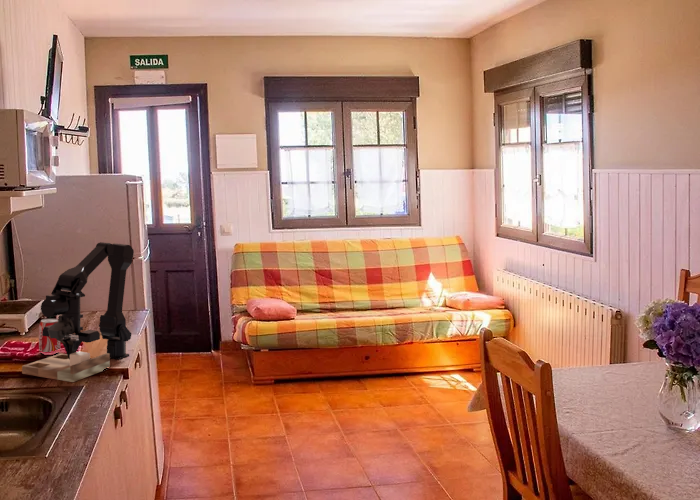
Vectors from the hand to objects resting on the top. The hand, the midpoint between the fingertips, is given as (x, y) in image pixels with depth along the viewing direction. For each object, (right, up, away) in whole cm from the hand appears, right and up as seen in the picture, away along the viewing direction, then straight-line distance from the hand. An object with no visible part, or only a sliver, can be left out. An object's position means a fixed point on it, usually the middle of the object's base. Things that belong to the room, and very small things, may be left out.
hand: (70, 359), depth 262 cm
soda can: (-15, -1, +21) cm, 26 cm away
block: (+3, -2, -1) cm, 4 cm away
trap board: (-2, -4, +1) cm, 4 cm away
